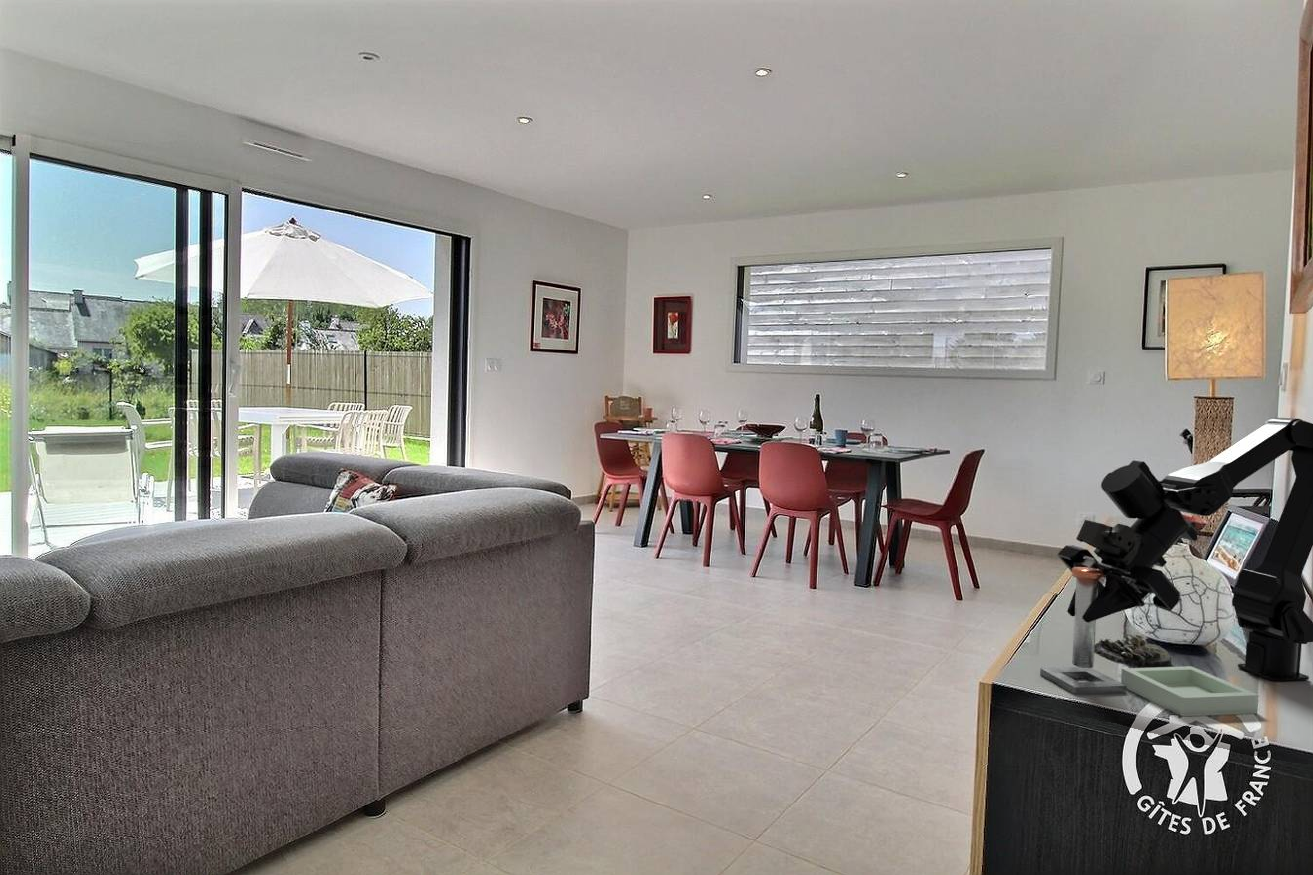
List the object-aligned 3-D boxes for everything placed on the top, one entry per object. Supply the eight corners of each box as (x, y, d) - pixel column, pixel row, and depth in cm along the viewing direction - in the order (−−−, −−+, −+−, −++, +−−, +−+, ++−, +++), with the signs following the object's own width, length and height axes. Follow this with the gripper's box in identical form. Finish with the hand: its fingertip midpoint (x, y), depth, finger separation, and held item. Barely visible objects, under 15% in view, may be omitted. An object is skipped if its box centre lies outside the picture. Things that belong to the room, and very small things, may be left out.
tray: (1190, 682, 123) (1191, 666, 123) (1257, 713, 112) (1258, 694, 112) (1120, 685, 121) (1121, 668, 121) (1181, 716, 110) (1183, 697, 110)
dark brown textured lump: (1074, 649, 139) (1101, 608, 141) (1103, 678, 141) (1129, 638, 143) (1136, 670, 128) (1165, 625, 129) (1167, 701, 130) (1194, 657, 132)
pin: (1086, 659, 124) (1090, 566, 123) (1104, 668, 120) (1109, 572, 119) (1061, 660, 123) (1066, 567, 122) (1079, 670, 119) (1084, 573, 118)
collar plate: (1088, 673, 126) (1088, 666, 126) (1126, 692, 118) (1126, 685, 118) (1040, 674, 125) (1040, 668, 125) (1074, 694, 117) (1075, 687, 117)
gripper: (1071, 493, 130) (1004, 565, 128) (1166, 512, 112) (1089, 595, 110) (1113, 542, 132) (1047, 613, 130) (1213, 568, 114) (1138, 651, 112)
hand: (1077, 617), depth 121 cm, fingers closed on pin, 3 cm apart
